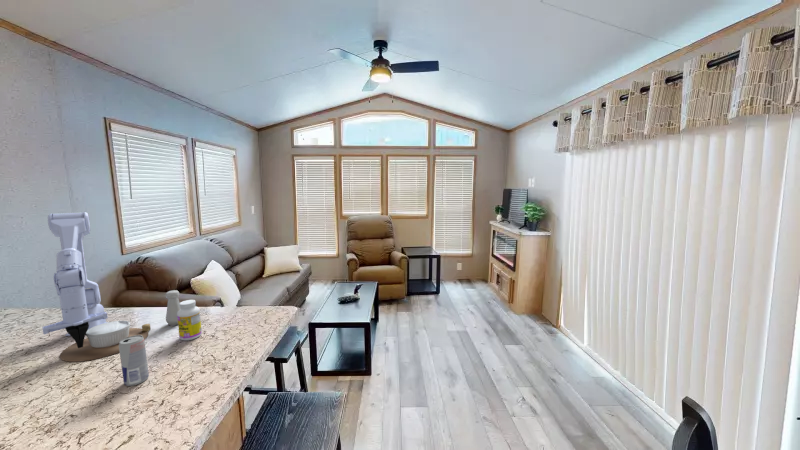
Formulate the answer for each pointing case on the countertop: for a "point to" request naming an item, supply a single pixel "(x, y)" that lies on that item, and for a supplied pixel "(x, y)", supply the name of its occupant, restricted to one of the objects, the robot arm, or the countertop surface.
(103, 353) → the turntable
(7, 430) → the countertop surface
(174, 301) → the salt shaker
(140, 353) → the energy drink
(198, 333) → the supplement bottle
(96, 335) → the ramekin
